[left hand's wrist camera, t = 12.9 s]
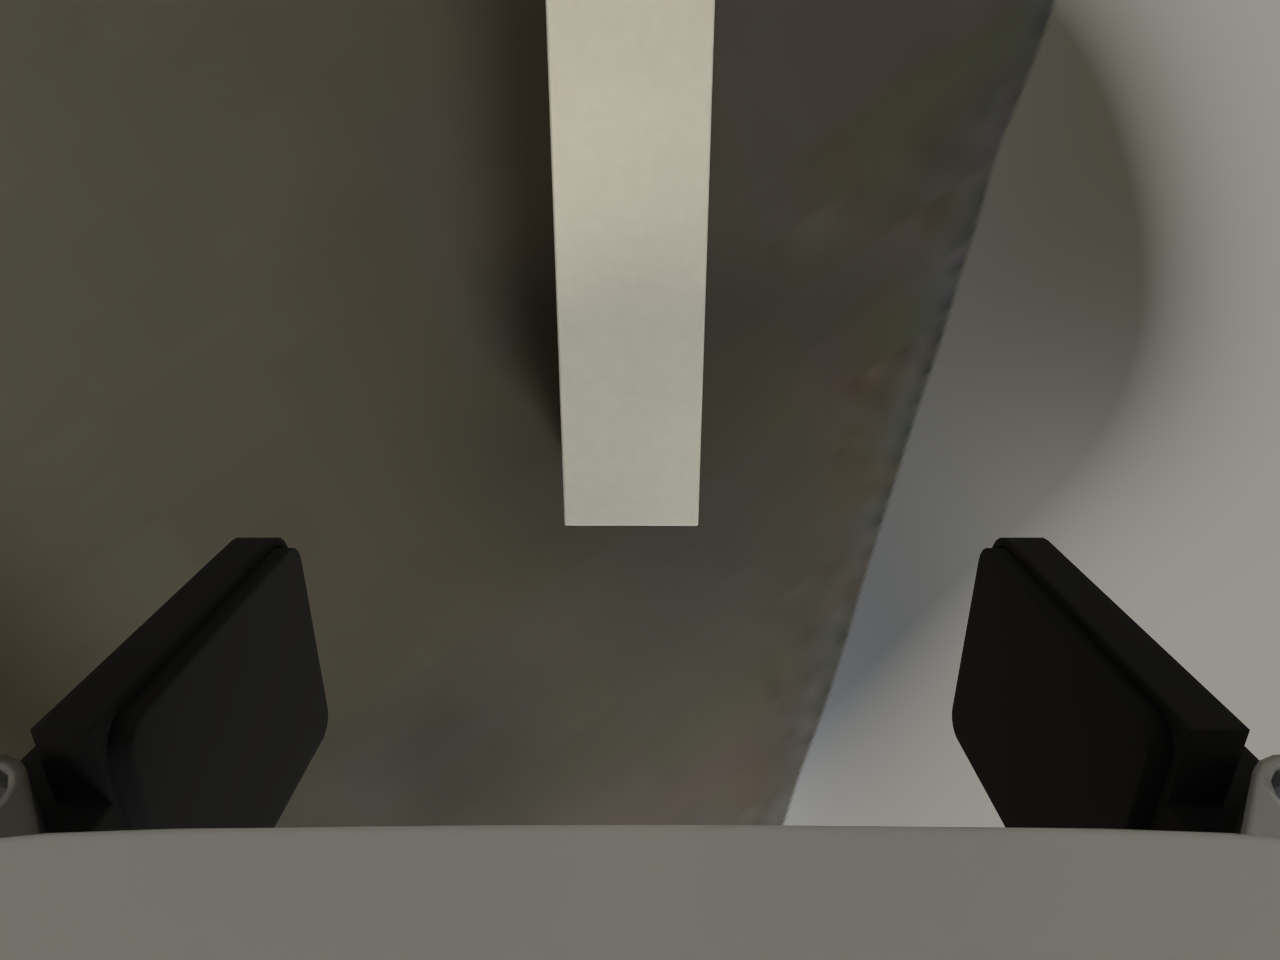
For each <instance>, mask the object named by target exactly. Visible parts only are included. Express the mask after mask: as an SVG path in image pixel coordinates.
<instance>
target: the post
mask: <svg viewBox="0 0 1280 960" xmlns="http://www.w3.org/2000/svg"><path fill="white" fill-rule="evenodd" d="M545 1H546V28H547V56H548V83H549V111H550V138H551V166H552V193H553V221H554V248H555V276H556V303H557V331H558V358H559V386H560V413H561V441H562V468H563V496H564V523H565V525H567V526H697V525H698V514H699V482H700V451H701V420H702V389H703V358H704V326H705V295H706V264H707V233H708V202H709V171H710V139H711V108H712V77H713V46H714V15H715V0H545Z"/></svg>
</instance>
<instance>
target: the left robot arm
mask: <svg viewBox="0 0 1280 960" xmlns="http://www.w3.org/2000/svg"><path fill="white" fill-rule="evenodd" d="M327 722H328V709H327V703H326V697H325V692H324V686H323V680H322V675H321V669H320V663H319V658H318V652H317V646H316V641H315V635H314V630H313V624H312V618H311V613H310V607H309V601H308V596H307V590H306V584H305V579H304V573H303V568H302V562H301V558H300V554H299V553H298V551H297V550H296V549H295V548H288V547H287V545H286V543H285V541H284V540H282V539H281V538H236V539H234V540H232V541H231V542H230V543H229V544H228V545H227V546H226V547H225V548H224V549H222V550H221V551H220V552H219V553H218V554H217V555H216V556H215V557H214V558H213V559H212V560H211V561H210V562H209V563H208V564H206V565H205V566H204V567H203V568H202V569H201V570H200V571H199V572H198V573H197V574H196V575H195V576H194V577H193V578H192V579H190V580H189V581H188V582H187V583H186V584H185V585H184V586H183V587H182V588H181V589H180V590H179V591H178V592H177V593H176V594H175V595H173V596H172V597H171V598H170V599H169V600H168V601H167V602H166V603H165V604H164V605H163V606H162V607H161V608H160V609H159V610H157V611H156V612H155V613H154V614H153V615H152V616H151V617H150V618H149V619H148V620H147V621H146V622H145V623H144V624H143V625H141V626H140V627H139V628H138V629H137V630H136V631H135V632H134V633H133V634H132V635H131V636H130V637H129V638H128V639H127V640H125V641H124V642H123V643H122V644H121V645H120V646H119V647H118V648H117V649H116V650H115V651H114V652H113V653H112V654H111V655H110V656H108V657H107V658H106V659H105V660H104V661H103V662H102V663H101V664H100V665H99V666H98V667H97V668H96V669H95V670H94V671H92V672H91V673H90V674H89V675H88V676H87V677H86V678H85V679H84V680H83V681H82V682H81V683H80V684H79V685H78V686H76V687H75V688H74V689H73V690H72V691H71V692H70V693H69V694H68V695H67V696H66V697H65V698H64V699H63V700H62V701H60V702H59V703H58V704H57V705H56V706H55V707H54V708H53V709H52V710H51V711H50V712H49V713H48V714H47V715H46V716H44V717H43V718H42V719H41V720H40V721H39V722H38V723H37V724H36V725H35V726H34V727H33V728H32V729H31V730H30V731H31V734H32V736H33V739H34V742H35V745H36V746H35V747H34V748H33V749H32V750H31V751H30V752H29V753H28V754H27V755H26V756H25V757H24V758H23V759H22V760H21V761H20V760H18V759H15V758H13V757H10V756H8V755H0V960H1280V755H1272V756H1270V757H1267V758H1265V759H1263V760H1260V761H1259V760H1258V759H1257V758H1256V757H1255V756H1254V755H1253V754H1252V753H1251V752H1250V751H1249V750H1248V749H1247V748H1246V747H1245V746H1244V745H1245V742H1246V739H1247V736H1248V734H1249V731H1250V730H1249V729H1248V728H1247V727H1246V726H1245V725H1244V724H1243V723H1242V722H1241V721H1240V720H1239V719H1238V718H1237V717H1236V716H1234V715H1233V714H1232V713H1231V712H1230V711H1229V710H1228V709H1227V708H1226V707H1225V706H1224V705H1223V704H1222V703H1221V702H1219V701H1218V700H1217V699H1216V698H1215V697H1214V696H1213V695H1212V694H1211V693H1210V692H1209V691H1208V690H1207V689H1206V688H1205V687H1204V686H1202V685H1201V684H1200V683H1199V682H1198V681H1197V680H1196V679H1195V678H1194V677H1193V676H1192V675H1191V674H1190V673H1189V672H1187V671H1186V670H1185V669H1184V668H1183V667H1182V666H1181V665H1180V664H1179V663H1178V662H1177V661H1176V660H1175V659H1174V658H1173V657H1172V656H1170V655H1169V654H1168V653H1167V652H1166V651H1165V650H1164V649H1163V648H1162V647H1161V646H1160V645H1159V644H1158V643H1157V642H1156V641H1154V640H1153V639H1152V638H1151V637H1150V636H1149V635H1148V634H1147V633H1146V632H1145V631H1144V630H1143V629H1142V628H1141V627H1140V626H1139V625H1137V624H1136V623H1135V622H1134V621H1133V620H1132V619H1131V618H1130V617H1129V616H1128V615H1127V614H1126V613H1125V612H1124V611H1123V610H1121V609H1120V608H1119V607H1118V606H1117V605H1116V604H1115V603H1114V602H1113V601H1112V600H1111V599H1110V598H1109V597H1108V596H1107V595H1105V594H1104V593H1103V592H1102V591H1101V590H1100V589H1099V588H1098V587H1097V586H1096V585H1095V584H1094V583H1093V582H1092V581H1091V580H1089V579H1088V578H1087V577H1086V576H1085V575H1084V574H1083V573H1082V572H1081V571H1080V570H1079V569H1078V568H1077V567H1076V566H1075V565H1074V564H1072V563H1071V562H1070V561H1069V560H1068V559H1067V558H1066V557H1065V556H1064V555H1063V554H1062V553H1061V552H1060V551H1059V550H1058V549H1056V548H1055V547H1054V546H1053V545H1052V544H1051V543H1050V542H1049V541H1048V540H1046V539H1044V538H999V539H998V540H997V541H995V543H994V545H993V547H992V548H985V549H984V550H983V551H982V553H981V554H980V558H979V562H978V568H977V573H976V579H975V584H974V590H973V596H972V601H971V607H970V613H969V618H968V624H967V630H966V635H965V641H964V647H963V652H962V658H961V664H960V669H959V675H958V681H957V686H956V692H955V697H954V703H953V709H952V722H953V728H954V732H955V735H956V737H957V739H958V741H959V743H960V745H961V747H962V748H963V750H964V752H965V754H966V756H967V758H968V759H969V761H970V763H971V765H972V767H973V768H974V770H975V772H976V774H977V776H978V778H979V779H980V781H981V783H982V785H983V787H984V789H985V790H986V792H987V794H988V796H989V798H990V800H991V802H992V803H993V805H994V807H995V809H996V811H997V812H998V814H999V816H1000V818H1001V820H1002V822H1003V823H1004V825H1005V827H1006V828H994V827H882V826H881V827H880V826H772V825H474V826H386V827H298V828H274V827H275V825H276V823H277V822H278V820H279V818H280V816H281V814H282V812H283V811H284V809H285V807H286V805H287V803H288V802H289V800H290V798H291V796H292V794H293V792H294V791H295V789H296V787H297V785H298V783H299V781H300V780H301V778H302V776H303V774H304V772H305V770H306V769H307V767H308V765H309V763H310V761H311V759H312V758H313V756H314V754H315V752H316V750H317V748H318V747H319V745H320V743H321V741H322V739H323V737H324V735H325V732H326V728H327Z"/></svg>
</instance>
